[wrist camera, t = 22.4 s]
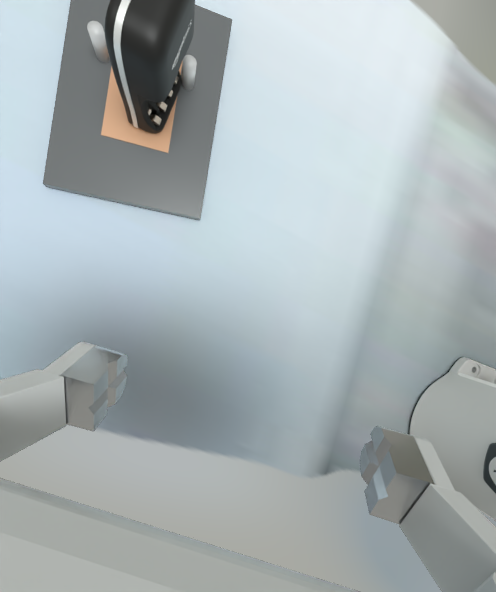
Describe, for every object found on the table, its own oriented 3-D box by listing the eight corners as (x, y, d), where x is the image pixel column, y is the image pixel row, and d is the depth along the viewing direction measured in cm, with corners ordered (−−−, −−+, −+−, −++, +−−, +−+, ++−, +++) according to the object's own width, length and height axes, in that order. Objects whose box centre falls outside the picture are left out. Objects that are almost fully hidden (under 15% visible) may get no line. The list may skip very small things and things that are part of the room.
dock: (230, 27, 30) (238, -9, 27) (199, 220, 31) (203, 211, 27) (80, -32, 27) (65, -84, 23) (47, 187, 27) (26, 171, 23)
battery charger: (166, 146, 28) (162, 61, 17) (126, 126, 28) (95, 23, 16) (192, 80, 29) (205, -43, 18) (154, 58, 28) (142, -87, 17)
